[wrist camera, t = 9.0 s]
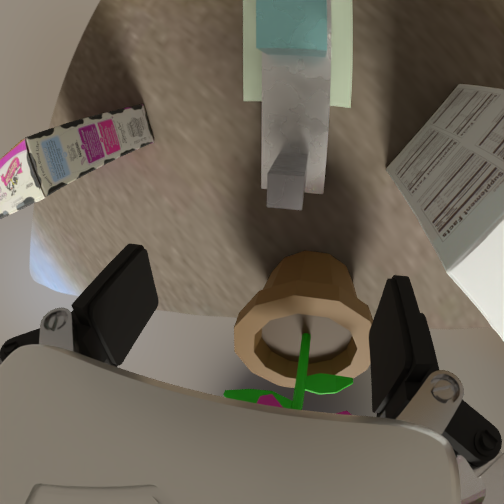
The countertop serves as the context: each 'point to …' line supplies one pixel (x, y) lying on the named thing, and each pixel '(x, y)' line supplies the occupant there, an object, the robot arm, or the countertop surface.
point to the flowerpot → (303, 331)
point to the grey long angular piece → (294, 97)
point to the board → (339, 53)
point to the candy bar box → (68, 154)
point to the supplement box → (462, 192)
